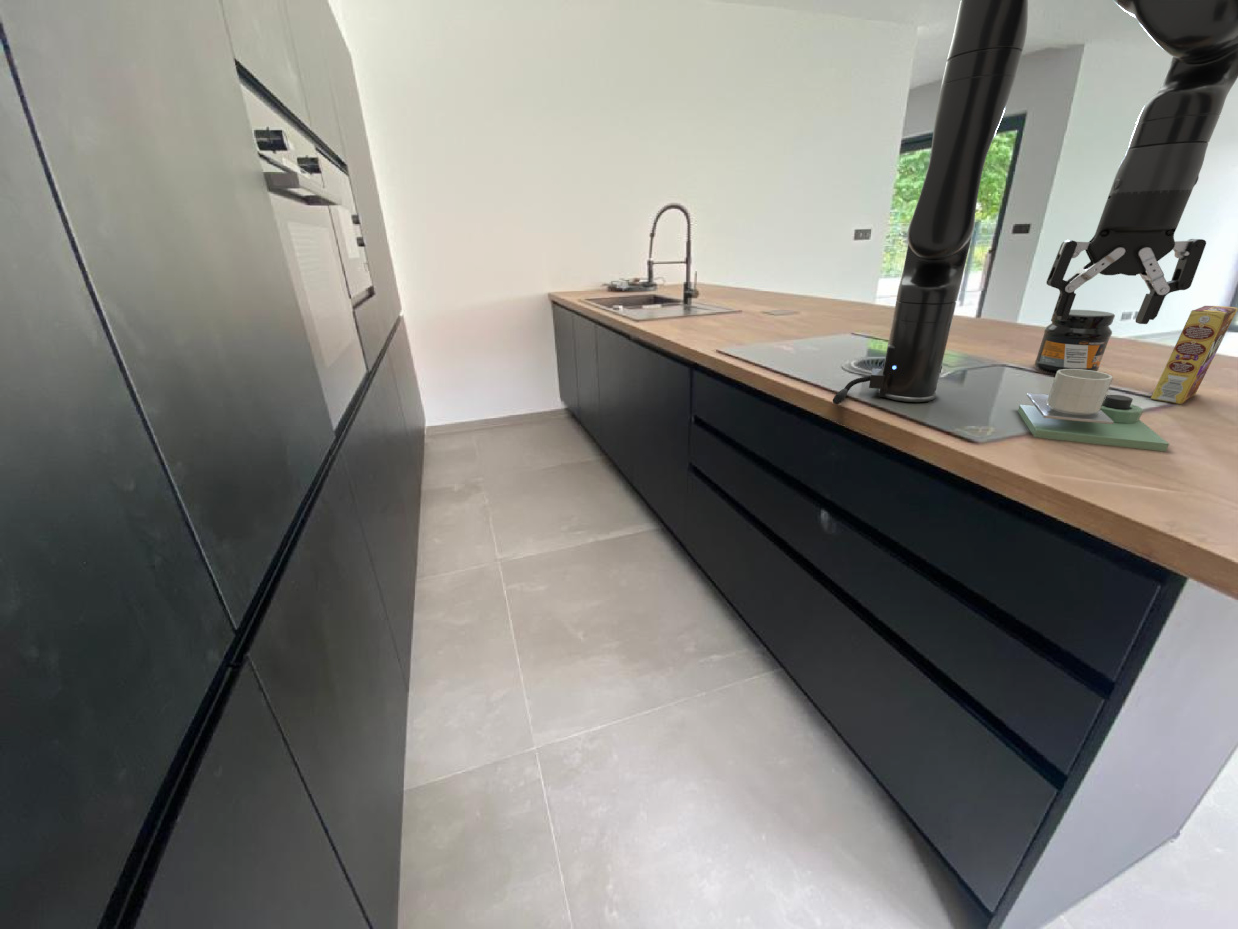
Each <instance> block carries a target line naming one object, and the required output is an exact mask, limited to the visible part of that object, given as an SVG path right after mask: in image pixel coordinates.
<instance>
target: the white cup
mask: <svg viewBox="0 0 1238 929" xmlns="http://www.w3.org/2000/svg"><path fill="white" fill-rule="evenodd" d="M1113 379H1114V376H1112V375H1111V374H1109V373H1106V372H1102V371H1099V370H1098V371H1092V370H1083V369H1062V370H1058V371H1057V373H1056V374H1055V376H1054V379H1053V382H1052V384H1051V388H1050V391H1049V393H1048V395H1049V397H1048V400H1047V403H1046V404H1047V405H1048V406H1050V408H1051V409H1053V410H1055V411H1058V412H1061V413H1065V414H1071V415H1092V414H1094V413H1096V412H1099V411H1100V410H1101V407H1102V405H1103V402H1104V400H1105V398H1106V396H1107V395H1108V392H1109V390H1110V386H1111V384H1112V381H1113Z"/></svg>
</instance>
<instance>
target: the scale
mask: <svg viewBox="0 0 1238 929" xmlns="http://www.w3.org/2000/svg"><path fill="white" fill-rule="evenodd" d="M1103 403H1104V402H1103ZM1101 411H1103V412H1104V413H1105V414H1106V415H1107V416H1108V417H1109V418H1110V419H1111V420H1112V421H1113V422H1114V423H1113V424H1104V423H1093V422H1083V421H1072V420H1062V419H1051V418H1044V417H1043V416H1042V415H1041V413H1040V412H1039V411H1038V409H1037V408H1036V407H1035V405H1029V404H1019V406H1018V409H1017V413H1018V414H1019V416H1020V417H1021V418H1022V420H1023V422H1024V424H1025V425H1026V426H1027V428H1028V429H1029V431H1030V434H1032V436H1033V437H1034V438H1039V439H1049V440H1056V441H1057V440H1058V441H1067V442H1075V443H1085V444H1094V445H1103V446H1112V447H1122V448H1130V449H1131V448H1132V449H1140V450H1150V451H1157V452H1159V451H1160V452H1167V450H1168V448H1169V446H1170V443H1169V442H1168V441H1166V440H1165V439H1164V438H1162V437H1161V435H1159V434H1158V433H1157V432H1155V431H1154V430H1153V429H1152V428H1150V427H1149V426H1148V425H1147V424H1146V423H1144V422H1143V421H1142V420H1141V416H1142V415H1143V413H1144V409H1143V408H1142V407H1140V406H1139V405H1135V404H1132V403H1131V405H1130V408H1129V410H1120V409H1113V408H1107V407H1104V406H1103V405H1102V407H1101Z"/></svg>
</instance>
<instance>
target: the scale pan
mask: <svg viewBox="0 0 1238 929" xmlns="http://www.w3.org/2000/svg"><path fill="white" fill-rule="evenodd" d="M1026 397H1027V398H1028V399H1029V400H1030V402H1031V403H1032V404H1033V406H1035V407H1036V408H1037V409H1038V411H1039V412H1040V413H1041V415H1042V416H1043V417H1044V418H1051V419H1062V420H1072V421H1083V422H1093V423H1104V424H1113V423H1114V422H1113V421H1112V420H1111V419H1110V418H1109V417H1108V416H1107V415H1106V414H1105V413H1104V412H1103V411H1101V410H1100V411H1099V412H1096V413H1094V414H1092V415H1071V414H1065V413H1061V412H1058V411H1055V410H1053V409H1051V408H1050V406H1048V405H1047V404H1046V403H1047V400H1048V397H1049V394H1042V393H1032V392H1031V393H1030V392H1028V393H1027V394H1026Z"/></svg>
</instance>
